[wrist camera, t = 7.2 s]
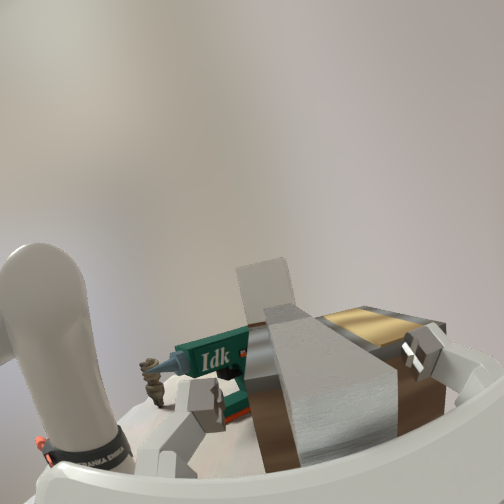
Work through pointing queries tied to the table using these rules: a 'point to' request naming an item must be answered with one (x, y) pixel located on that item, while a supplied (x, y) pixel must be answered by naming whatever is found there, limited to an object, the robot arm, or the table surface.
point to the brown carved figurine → (153, 382)
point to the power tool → (215, 365)
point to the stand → (363, 335)
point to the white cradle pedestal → (264, 289)
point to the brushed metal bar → (330, 388)
